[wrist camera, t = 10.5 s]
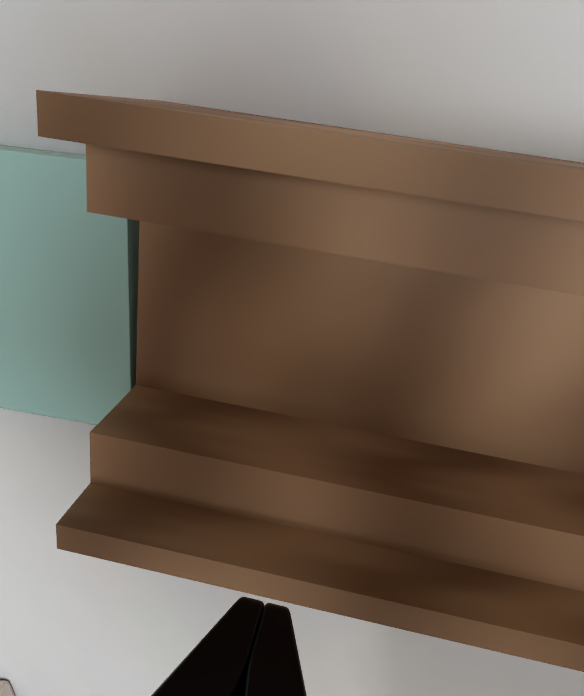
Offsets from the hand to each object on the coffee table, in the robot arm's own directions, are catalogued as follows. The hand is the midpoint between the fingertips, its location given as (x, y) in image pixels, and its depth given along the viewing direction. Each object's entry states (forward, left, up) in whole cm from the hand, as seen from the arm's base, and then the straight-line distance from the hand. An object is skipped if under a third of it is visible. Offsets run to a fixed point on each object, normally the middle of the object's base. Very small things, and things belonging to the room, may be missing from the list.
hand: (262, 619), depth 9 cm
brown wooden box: (-3, -2, -9) cm, 10 cm away
